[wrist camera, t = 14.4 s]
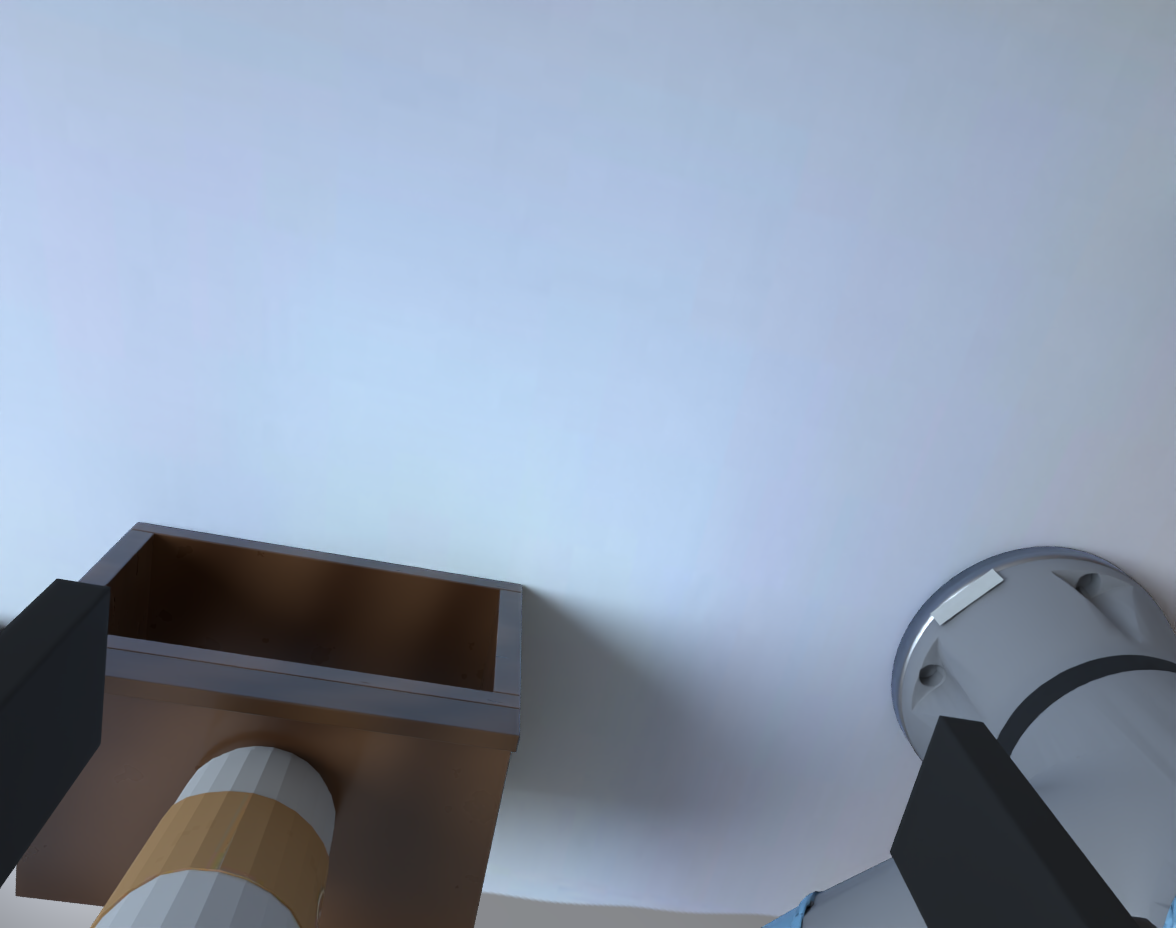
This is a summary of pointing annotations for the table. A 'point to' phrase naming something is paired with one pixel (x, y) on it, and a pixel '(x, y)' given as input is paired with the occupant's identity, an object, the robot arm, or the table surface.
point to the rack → (300, 715)
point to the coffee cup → (234, 850)
